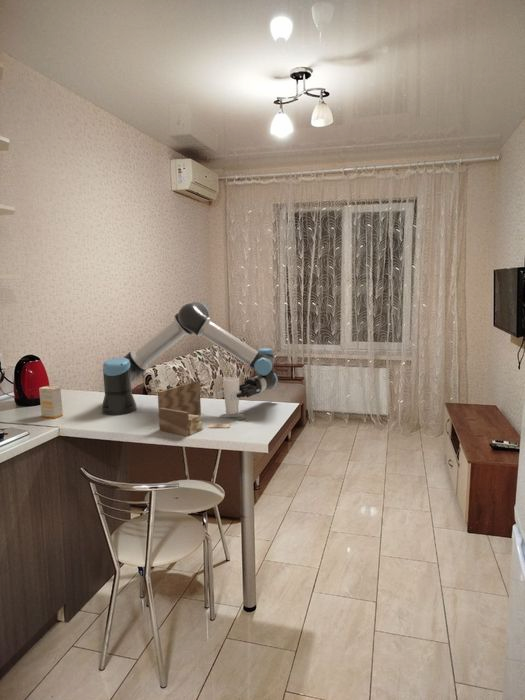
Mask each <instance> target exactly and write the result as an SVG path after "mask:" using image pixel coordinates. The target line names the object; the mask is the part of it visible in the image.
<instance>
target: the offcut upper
mask: <svg viewBox="0 0 525 700" xmlns="http://www.w3.org/2000/svg"><path fill="white" fill-rule="evenodd" d="M200 416H201V415H200ZM200 416H199V415H190V414H188V418H189V426H193V425H195V424H197V423H199V422H201V418H200Z"/></svg>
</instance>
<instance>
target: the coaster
mask: <svg viewBox="0 0 525 700" xmlns="http://www.w3.org/2000/svg"><path fill="white" fill-rule="evenodd" d="M218 418H220V419H227V420H232V421H238V422H239V421H243V420H245V419H246V414H244V413H239V412H238V413H237V414H234V415H229V414H227V413H224V414H223V413H222V414H220V415H219V417H218ZM244 418H245V419H244Z"/></svg>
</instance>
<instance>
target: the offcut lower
mask: <svg viewBox="0 0 525 700" xmlns="http://www.w3.org/2000/svg"><path fill="white" fill-rule="evenodd" d="M202 429H203V422H202V421H200V422H199V423H197V424H195V425H193V426H189V436H191V435H193V434H196V433H198V432H200V431H203V430H202Z"/></svg>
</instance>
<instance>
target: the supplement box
mask: <svg viewBox="0 0 525 700" xmlns="http://www.w3.org/2000/svg"><path fill="white" fill-rule="evenodd" d="M38 391H39V402H40V411H41V417H42V418H50V419H57V418H60V417H63V416H64V414H63V411H64V410H63V403H62V402H63V401H62V389H61V387H60V386H53V385H46V386H42V387H39V388H38Z"/></svg>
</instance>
